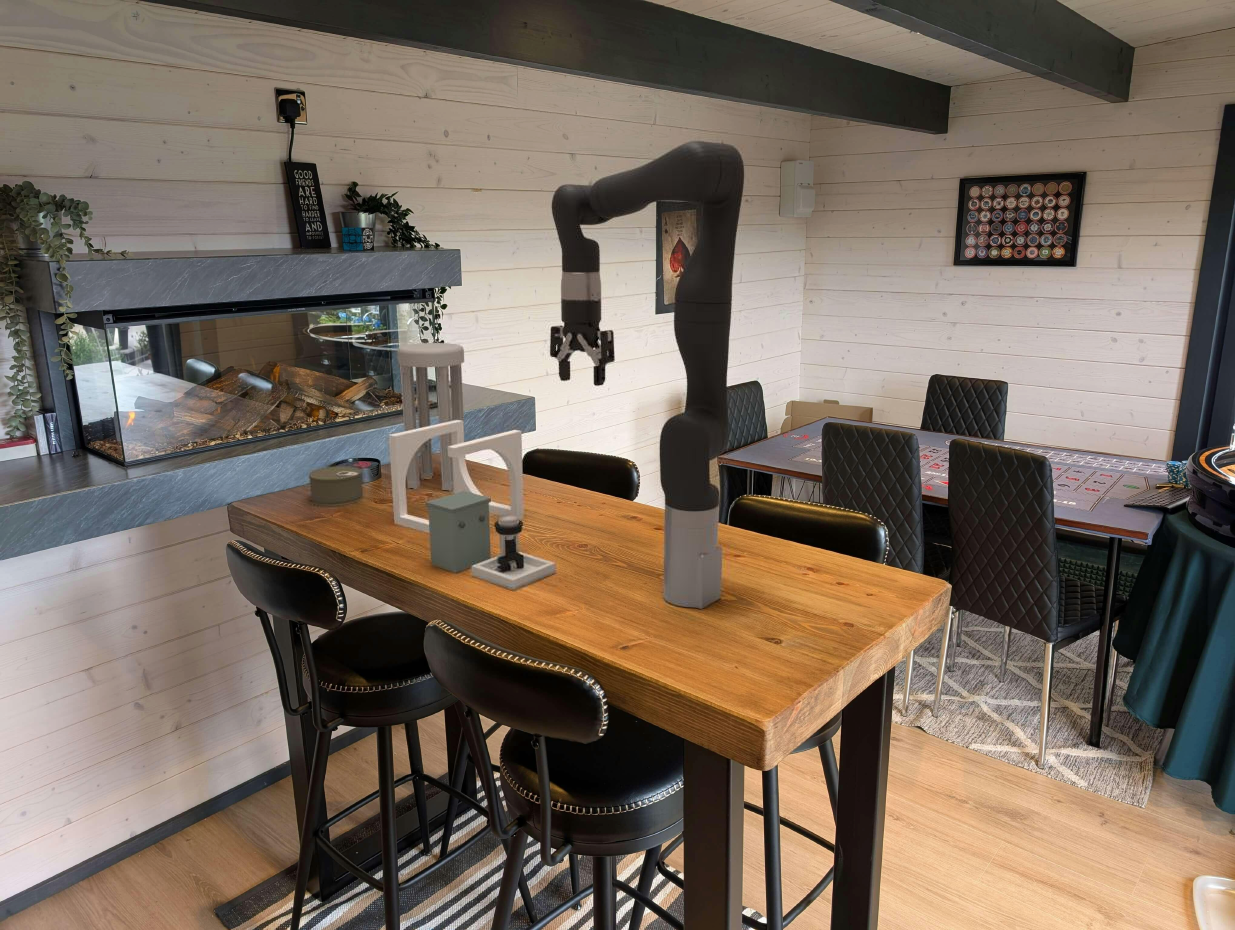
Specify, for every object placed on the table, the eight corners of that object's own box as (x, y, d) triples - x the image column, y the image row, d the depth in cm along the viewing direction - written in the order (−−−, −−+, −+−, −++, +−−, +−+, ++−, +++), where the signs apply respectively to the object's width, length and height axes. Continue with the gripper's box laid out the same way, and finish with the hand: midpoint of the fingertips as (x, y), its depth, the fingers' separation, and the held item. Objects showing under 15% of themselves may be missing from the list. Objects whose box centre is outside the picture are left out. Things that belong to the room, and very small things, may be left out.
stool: (396, 490, 218) (387, 349, 209) (420, 474, 233) (412, 342, 224) (456, 494, 216) (449, 351, 207) (476, 477, 230) (471, 343, 222)
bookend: (523, 517, 198) (521, 430, 193) (458, 542, 182) (454, 448, 177) (460, 502, 209) (457, 419, 204) (394, 523, 194) (388, 434, 189)
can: (327, 491, 218) (324, 464, 216) (372, 494, 215) (370, 467, 214) (301, 505, 206) (298, 477, 205) (348, 509, 204) (346, 480, 202)
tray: (555, 573, 165) (555, 563, 165) (513, 590, 157) (513, 580, 157) (514, 559, 172) (514, 550, 172) (471, 575, 164) (471, 565, 163)
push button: (498, 577, 162) (496, 526, 159) (484, 569, 166) (482, 518, 163) (529, 569, 166) (528, 519, 163) (514, 561, 170) (513, 512, 167)
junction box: (493, 559, 172) (490, 498, 169) (455, 573, 165) (452, 509, 162) (466, 551, 177) (464, 490, 174) (429, 564, 170) (425, 501, 166)
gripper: (539, 296, 166) (541, 381, 170) (597, 299, 157) (597, 389, 161) (566, 294, 172) (567, 376, 176) (623, 297, 163) (623, 384, 167)
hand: (581, 382), depth 169 cm, fingers open, 8 cm apart
